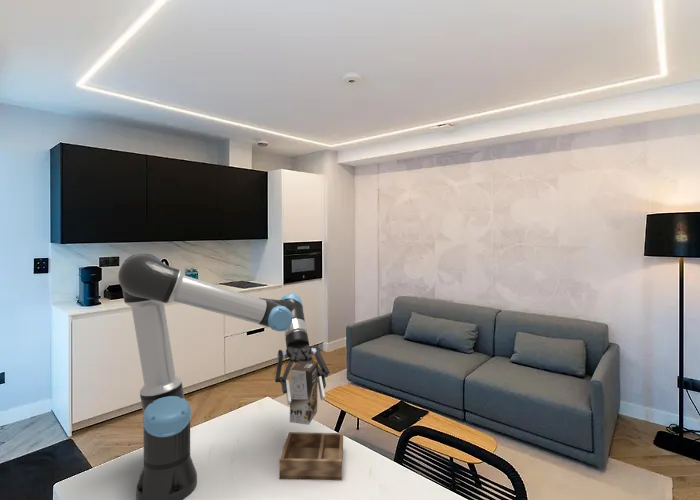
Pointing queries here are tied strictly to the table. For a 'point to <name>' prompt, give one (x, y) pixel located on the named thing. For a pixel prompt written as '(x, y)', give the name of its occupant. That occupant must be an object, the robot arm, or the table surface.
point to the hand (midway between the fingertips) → (306, 400)
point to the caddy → (312, 456)
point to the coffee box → (303, 392)
